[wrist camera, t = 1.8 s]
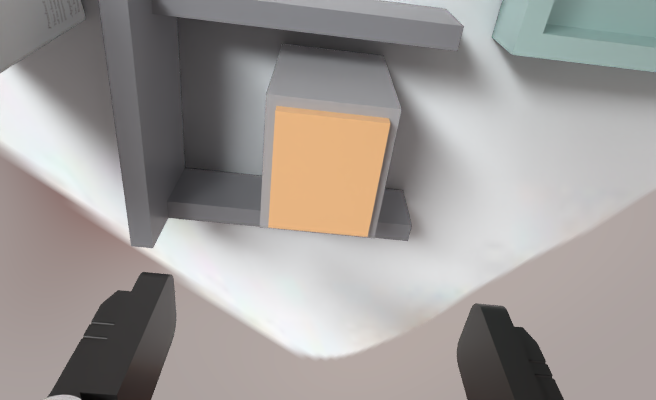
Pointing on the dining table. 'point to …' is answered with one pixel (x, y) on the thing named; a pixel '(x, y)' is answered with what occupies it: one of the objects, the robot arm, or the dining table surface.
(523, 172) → the dining table surface
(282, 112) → the grey block tan panel
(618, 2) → the tray
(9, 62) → the skincare box
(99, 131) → the dining table surface
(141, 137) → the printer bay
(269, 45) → the dining table surface
